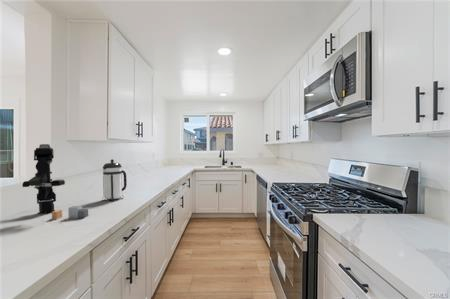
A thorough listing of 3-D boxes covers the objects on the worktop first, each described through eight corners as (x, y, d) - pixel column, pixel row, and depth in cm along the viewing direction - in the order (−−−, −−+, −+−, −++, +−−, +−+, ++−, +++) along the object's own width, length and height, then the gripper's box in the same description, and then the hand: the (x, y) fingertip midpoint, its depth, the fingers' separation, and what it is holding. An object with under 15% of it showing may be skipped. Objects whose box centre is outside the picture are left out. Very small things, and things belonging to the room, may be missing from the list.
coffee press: (124, 200, 172) (123, 159, 171) (99, 202, 167) (98, 160, 167) (126, 196, 188) (126, 158, 188) (104, 197, 184) (103, 159, 184)
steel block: (68, 218, 130) (68, 207, 129) (72, 216, 133) (72, 206, 133) (78, 218, 130) (77, 207, 130) (81, 216, 134) (81, 205, 134)
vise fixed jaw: (78, 218, 129) (77, 211, 129) (82, 215, 134) (82, 208, 134) (83, 218, 130) (83, 211, 130) (88, 215, 135) (88, 208, 135)
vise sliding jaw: (51, 219, 128) (51, 212, 128) (57, 216, 133) (57, 209, 133) (56, 219, 128) (56, 212, 128) (62, 216, 133) (62, 209, 133)
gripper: (13, 172, 121) (14, 203, 121) (52, 171, 123) (53, 201, 123) (29, 170, 132) (30, 198, 132) (65, 169, 134) (65, 197, 134)
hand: (44, 198), depth 130 cm, fingers closed
